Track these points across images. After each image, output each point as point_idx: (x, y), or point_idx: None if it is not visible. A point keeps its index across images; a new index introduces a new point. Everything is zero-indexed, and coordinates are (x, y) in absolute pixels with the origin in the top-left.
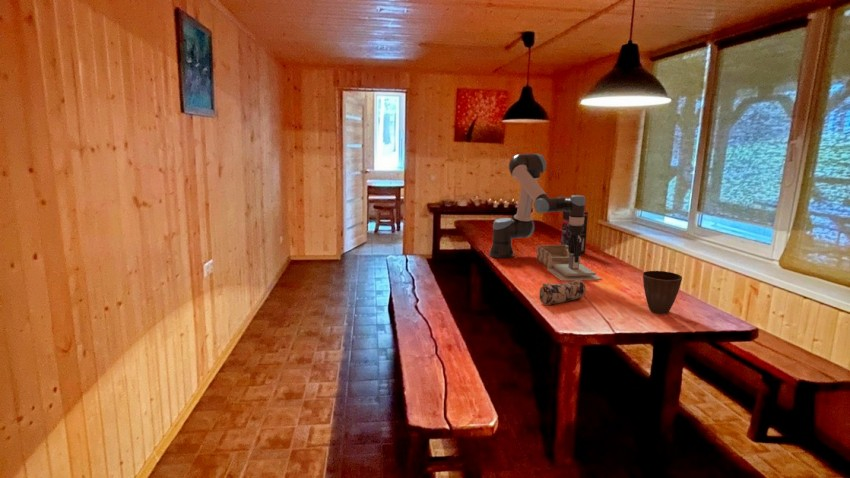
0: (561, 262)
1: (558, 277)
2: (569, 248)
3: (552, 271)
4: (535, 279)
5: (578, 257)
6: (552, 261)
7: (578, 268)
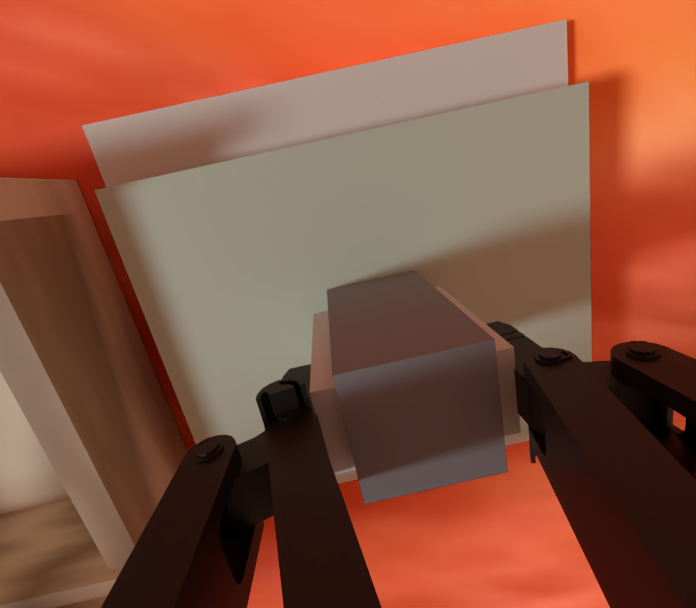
0: (126, 418)
1: (512, 442)
2: (248, 575)
3: None
4: (525, 575)
5: (502, 341)
6: None
7: (418, 273)
